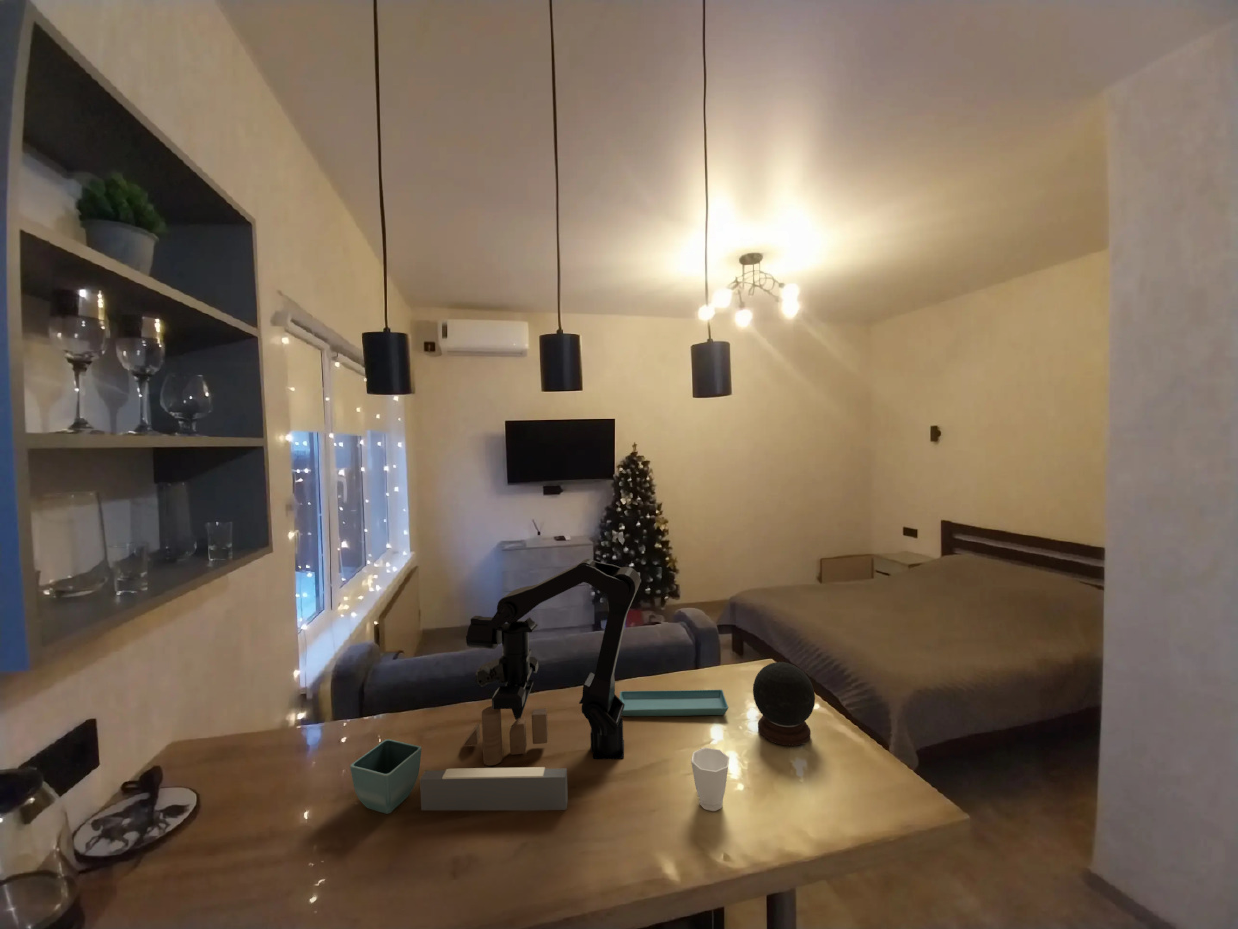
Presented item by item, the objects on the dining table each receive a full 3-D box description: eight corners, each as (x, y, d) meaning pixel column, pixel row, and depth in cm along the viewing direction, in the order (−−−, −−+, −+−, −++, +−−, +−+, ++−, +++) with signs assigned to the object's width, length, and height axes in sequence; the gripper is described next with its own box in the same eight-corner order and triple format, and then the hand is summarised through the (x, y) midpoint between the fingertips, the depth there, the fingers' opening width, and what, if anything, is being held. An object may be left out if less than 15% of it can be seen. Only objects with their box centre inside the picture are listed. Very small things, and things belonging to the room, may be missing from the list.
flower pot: (425, 792, 95) (423, 745, 94) (389, 826, 86) (387, 775, 86) (388, 782, 98) (386, 738, 97) (350, 815, 89) (348, 766, 89)
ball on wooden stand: (743, 733, 111) (742, 667, 110) (768, 708, 121) (767, 647, 120) (802, 756, 102) (801, 684, 102) (824, 727, 112) (823, 662, 112)
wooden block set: (549, 739, 111) (547, 692, 111) (546, 761, 102) (544, 710, 102) (466, 747, 109) (464, 699, 110) (456, 769, 101) (454, 717, 101)
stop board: (567, 800, 91) (566, 766, 91) (566, 810, 89) (565, 775, 89) (426, 802, 92) (425, 769, 92) (421, 812, 89) (419, 777, 89)
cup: (696, 818, 86) (695, 773, 86) (683, 780, 96) (683, 739, 96) (736, 815, 87) (735, 770, 87) (719, 777, 97) (718, 736, 97)
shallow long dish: (618, 718, 119) (618, 708, 119) (620, 699, 128) (619, 689, 128) (729, 718, 118) (728, 708, 118) (722, 698, 127) (722, 689, 127)
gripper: (491, 633, 119) (493, 697, 120) (465, 669, 100) (468, 745, 101) (537, 633, 119) (539, 697, 119) (520, 668, 100) (522, 744, 101)
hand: (518, 719), depth 110 cm, fingers closed
